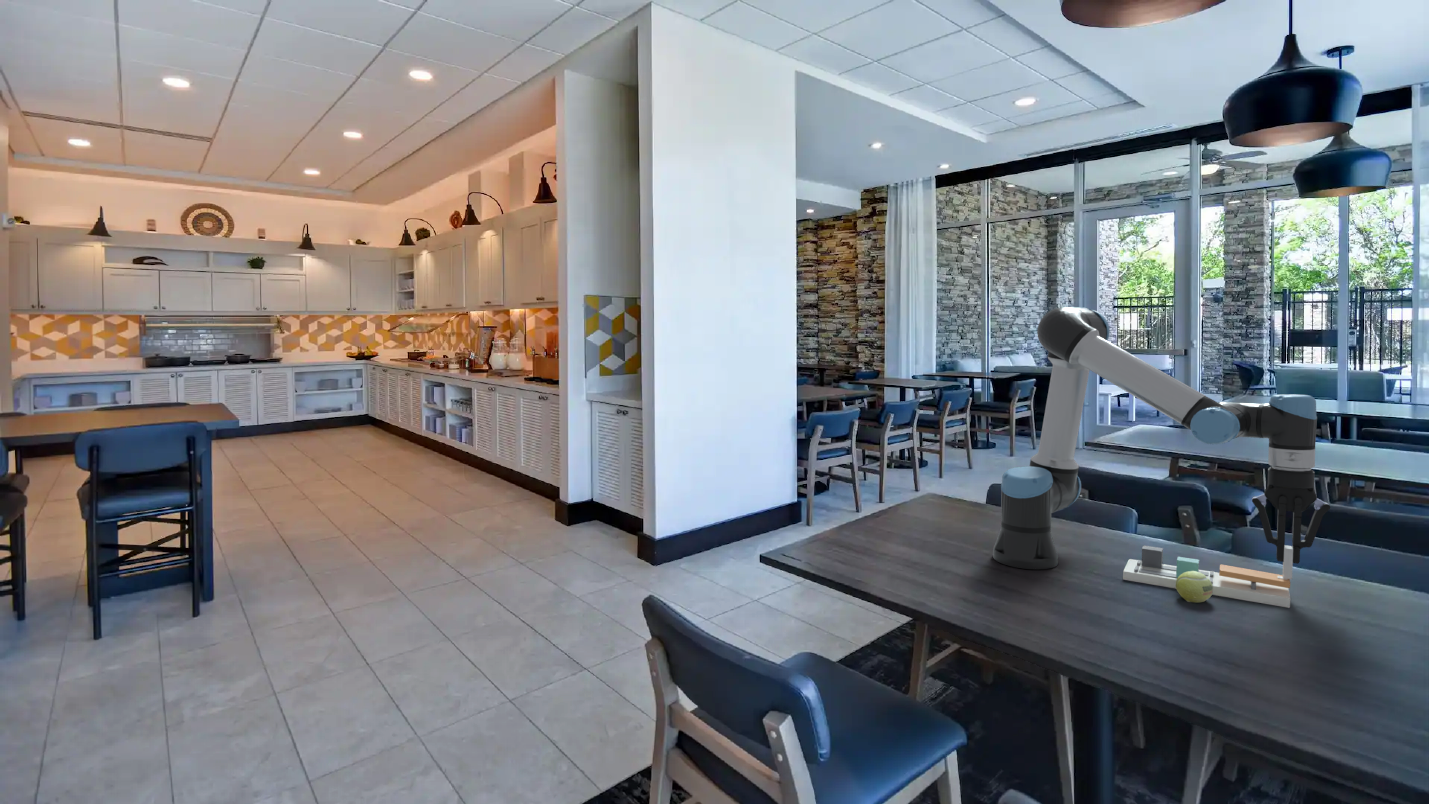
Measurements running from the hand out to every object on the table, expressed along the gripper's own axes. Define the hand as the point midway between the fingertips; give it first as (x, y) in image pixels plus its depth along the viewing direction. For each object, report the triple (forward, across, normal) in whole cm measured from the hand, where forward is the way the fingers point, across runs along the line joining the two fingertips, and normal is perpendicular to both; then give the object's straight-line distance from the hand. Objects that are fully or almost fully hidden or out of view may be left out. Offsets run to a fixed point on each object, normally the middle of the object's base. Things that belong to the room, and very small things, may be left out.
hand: (1287, 576), depth 145 cm
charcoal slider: (+2, -25, +3) cm, 25 cm away
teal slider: (+3, -17, -2) cm, 18 cm away
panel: (+5, -15, 0) cm, 15 cm away
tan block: (+1, -6, 0) cm, 6 cm away
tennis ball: (+5, -16, -11) cm, 20 cm away
